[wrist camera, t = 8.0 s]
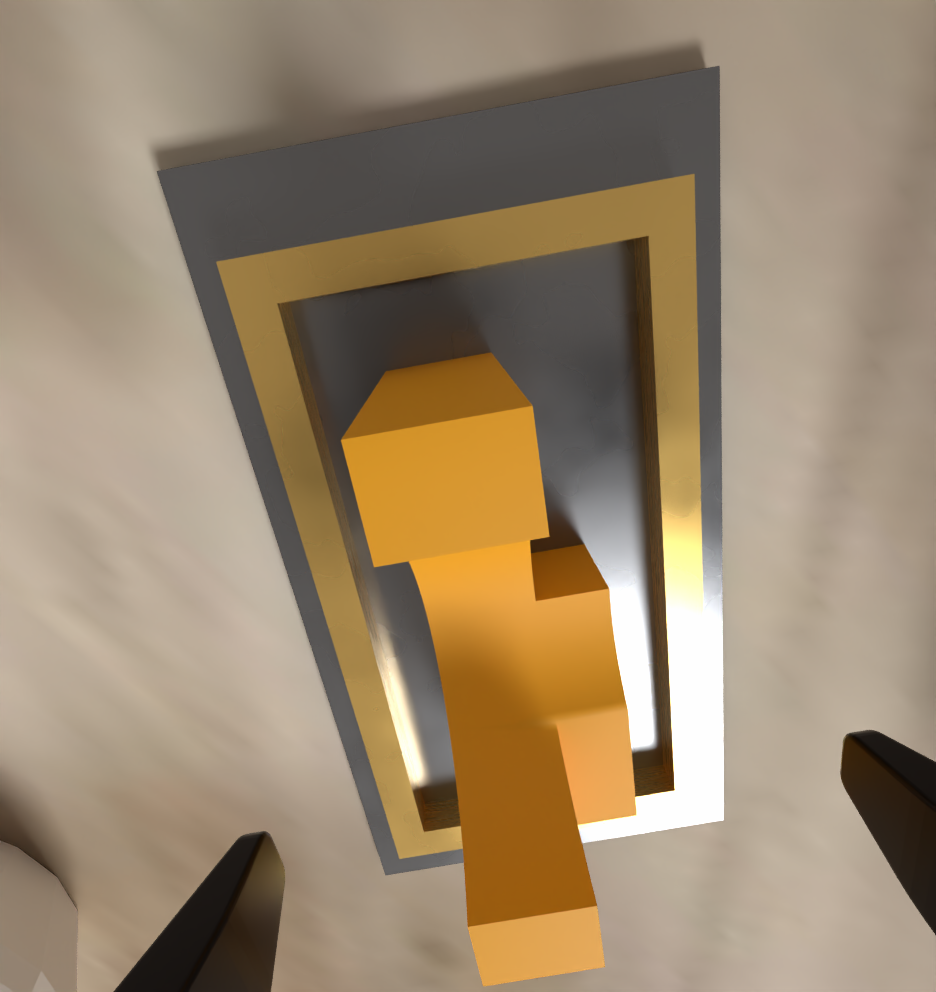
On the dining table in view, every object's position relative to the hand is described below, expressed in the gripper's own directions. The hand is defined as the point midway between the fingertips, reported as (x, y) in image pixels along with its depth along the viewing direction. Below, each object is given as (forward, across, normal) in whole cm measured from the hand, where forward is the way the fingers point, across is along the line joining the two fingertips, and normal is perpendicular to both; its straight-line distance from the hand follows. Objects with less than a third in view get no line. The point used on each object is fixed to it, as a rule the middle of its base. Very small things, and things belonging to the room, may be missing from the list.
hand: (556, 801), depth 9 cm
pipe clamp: (+8, 0, 0) cm, 8 cm away
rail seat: (+8, 0, 0) cm, 8 cm away
